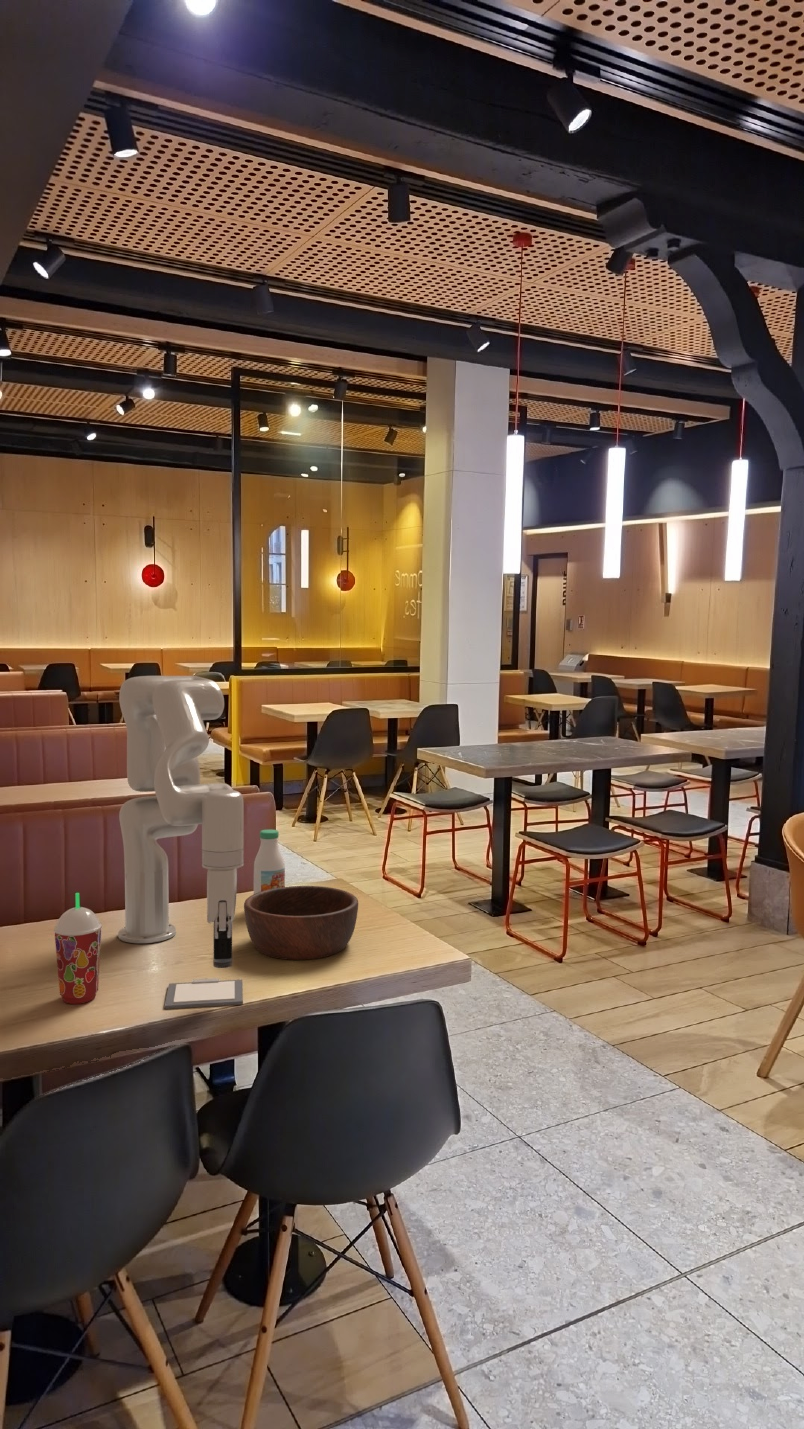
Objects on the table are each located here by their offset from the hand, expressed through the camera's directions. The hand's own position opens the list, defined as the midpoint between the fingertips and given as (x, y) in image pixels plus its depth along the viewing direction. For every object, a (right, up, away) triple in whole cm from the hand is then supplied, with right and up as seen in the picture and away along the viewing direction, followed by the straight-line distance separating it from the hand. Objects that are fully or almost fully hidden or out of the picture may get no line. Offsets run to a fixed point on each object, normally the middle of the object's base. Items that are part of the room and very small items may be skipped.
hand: (223, 953), depth 170 cm
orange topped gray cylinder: (0, -2, 0) cm, 2 cm away
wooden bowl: (+11, -7, +32) cm, 35 cm away
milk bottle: (0, -5, +58) cm, 58 cm away
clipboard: (-4, -9, +3) cm, 10 cm away
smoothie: (-27, -9, +1) cm, 28 cm away
